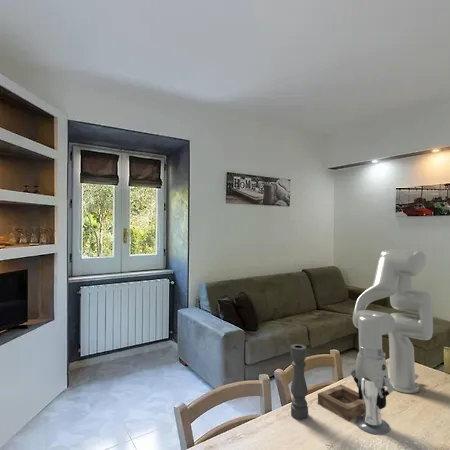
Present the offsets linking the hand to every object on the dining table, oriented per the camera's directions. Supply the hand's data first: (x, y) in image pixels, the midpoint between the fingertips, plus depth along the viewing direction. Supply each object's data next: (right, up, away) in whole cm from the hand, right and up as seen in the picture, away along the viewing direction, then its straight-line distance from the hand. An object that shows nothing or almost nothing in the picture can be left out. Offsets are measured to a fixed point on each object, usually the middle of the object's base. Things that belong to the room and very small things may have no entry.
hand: (371, 402), depth 112 cm
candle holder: (-24, -8, +6) cm, 26 cm away
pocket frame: (-5, -8, +12) cm, 15 cm away
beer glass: (0, -6, 0) cm, 6 cm away
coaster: (0, -8, 0) cm, 8 cm away
